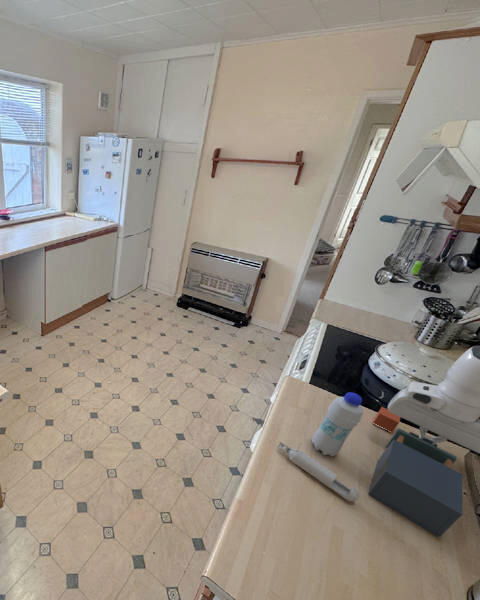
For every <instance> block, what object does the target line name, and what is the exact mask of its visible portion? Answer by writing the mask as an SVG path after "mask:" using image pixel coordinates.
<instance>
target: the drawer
mask: <svg viewBox="0 0 480 600" xmlns="http://www.w3.org/2000/svg"><path fill="white" fill-rule="evenodd" d="M419 436H420V435H418V434H416V433H414V432H412V431H410V432H407V431H405V430H403V429H401V428H397V430H395V432H394V434H393V435H392V436H391V437H390V439H389V440H388V442H387V443H386V445H385V449H387V448H388V446H389V445H390V444H391V442H392V441H393V439H394V440H396V441H398V442H400V443H402V444H404V445H406V446H408V447H410V448H412V449H414V450H416V451H418V452H420V453H422V454H424V455H426V456H428V457H430V458H432V459H434V460H436V461H438V462H440V463H442V464H444V465H446V466H448V467H450V468H452V469H453V464H455V462H456V461H458V459H457V458H458V457H457V455H455V454H452V453H450V452H448V451H446V450H445V449H442V448H440V447H438V443H436V444H435V445H432V444H430V443H428V442H426V441H424V440H422V439H420V438H419Z"/></svg>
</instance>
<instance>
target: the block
mask: <svg viewBox="0 0 480 600" xmlns="http://www.w3.org/2000/svg"><path fill="white" fill-rule="evenodd" d="M375 416H376V417H375ZM375 416H374V418H375V420H374V419H373V421H374V423H375V424H377V425H379V426H381V427H383V428H385V429H387V430H389V431H391V432H392V433H393V432H394V431H395V429H396V428H397V427H398V425H399V424H400V421H401V419H402V418H401V417H399V416H397V415H395V414H393V413H391V412H389V410H388V408H386V407H383V406H381V407H380V409H379V410H378V412H377V413H376V415H375Z"/></svg>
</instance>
